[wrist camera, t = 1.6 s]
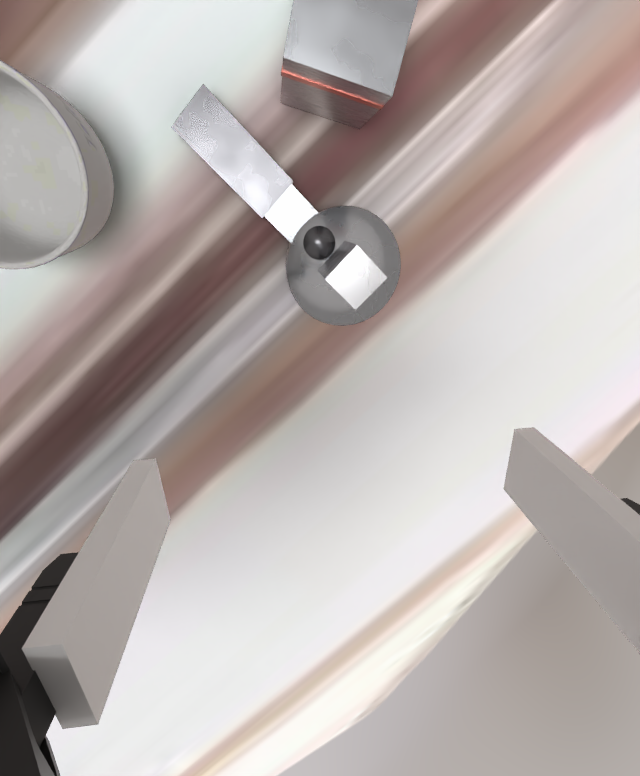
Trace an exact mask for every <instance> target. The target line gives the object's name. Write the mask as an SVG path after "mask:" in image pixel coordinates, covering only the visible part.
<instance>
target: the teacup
mask: <svg viewBox="0 0 640 776" xmlns="http://www.w3.org/2000/svg"><path fill="white" fill-rule="evenodd" d="M113 197H114V182H113V174H112V170H111V166H110V163H109V159H108V157H107V154H106V152H105V149H104V147H103V145H102V143H101V141H100V140H99V138H98V136H97V135H96V133H95V132H94V130H93V129H92V128H91V126H90V125H89V124H88V122H87V121H86V120H85V119H84V118H83V116H82V115H81V114H80V113H79V112H78V111H77V110H76V109H75V108H74V107H73V106H71V105H70V104H69V103H68V102H67V101H66V100H64V99H63V98H62V97H61V96H59V95H58V94H56V93H55V92H53V91H52V90H50V89H49V88H47V87H46V86H44V85H42V84H41V83H39V82H37V81H35V80H33V79H32V78H30V77H28V76H26V75H24V74H22V73H20V72H18V71H17V70H16V69H14V68H13V67H11V66H9V65H8V64H6V63H4V62H3V61H1V60H0V268H2V269H26V268H32V267H37V266H40V265H43V264H46V263H48V262H50V261H52V260H54V259H56V258H57V257H59V256H62V255H64V254H67V253H69V252H72V251H74V250H76V249H78V248H80V247H82V246H83V245H85V244H87V243H88V242H89V241H91V240H92V239H93V238H94V237H95V236H96V235H97V234H98V233H99V232H100V231H101V229H102V228H103V227H104V225H105V223H106V221H107V219H108V217H109V214H110V212H111V208H112V204H113Z"/></svg>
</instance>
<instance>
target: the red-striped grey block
mask: <svg viewBox="0 0 640 776" xmlns="http://www.w3.org/2000/svg"><path fill="white" fill-rule="evenodd" d="M417 3H418V0H294V1H293V6H292V12H291V17H290V23H289V29H288V34H287V40H286V45H285V51H284V56H283V66H282V71H281V76H282V88H281V103H282V104H285V105H288V106H291V107H294V108H297V109H300V110H303V111H306V112H309V113H312V114H315V115H318V116H321V117H324V118H327V119H330V120H333V121H336V122H340V123H343V124H346V125H349V126H352V127H355V128H358V129H360V128H361V127H362V126H363V125H364V124H365V123H366V122H367V121H368V120H369V119H370V118H371V117H372V116H373V115H374V114H375V113H376V112H377V111H378V110H381V109H382V108H383V107H384V104H385V103H386V102H387V101H388V100H389V99H390V98H391V97H392V96H393V92H394V88H395V84H396V81H397V77H398V73H399V70H400V66H401V62H402V58H403V55H404V51H405V47H406V44H407V40H408V36H409V32H410V29H411V25H412V21H413V18H414V14H415V10H416V7H417Z"/></svg>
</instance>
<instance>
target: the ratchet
mask: <svg viewBox="0 0 640 776" xmlns="http://www.w3.org/2000/svg"><path fill="white" fill-rule="evenodd" d="M171 127H172V128H173V129H174V130H175V131H176V132H177V133H178V134H179V136H180V137H181V138H182V139H183V140H184V141H185V142H186V143H187V144H188V145H189V146H190V147H191V148H192V149H193V150H194V151H195V152H196V153H197V154H198V155H199V156H200V157H201V158H202V159H203V160H204V161H205V162H206V163H207V164H208V165H209V166H210V167H211V168H212V169H213V170H214V171H215V172H216V173H217V174H218V175H219V176H220V177H221V178H222V179H223V180H224V181H225V182H226V183H227V184H228V185H229V186H230V187H231V188H232V189H233V190H234V191H235V192H236V193H237V194H238V195H239V196H240V197H241V198H242V199H243V200H244V201H245V202H246V203H247V204H248V205H249V206H250V207H251V208H252V209H253V210H254V211H255V212H256V213H257V214H258V215H259V216H260V217H261V218H263V217H265V218H266V219H267V220H268V221H269V222H270V223H271V224H272V225H273V226H274V227H275V228H276V229H277V230H278V231H279V232H280V233H281V234H282V235H283V236H284V237H285V238H286V239H287V240H288V241H289V242H290V244H289V247H288V251H287V256H286V273H287V278H288V282H289V286H290V289H291V292H292V294H293V296H294V298H295V300H296V301H297V302H298V304H299V305H300V306H301V307H302V309H303V310H304V311H305V312H307V313H308V314H309V315H310V316H312V317H313V318H315V319H317V320H319V321H321V322H324V323H327V324H331V325H341V326H344V325H352V324H356V323H359V322H362V321H365V320H367V319H369V318H370V317H372V316H373V315H375V314H376V313H377V312H379V311H380V310H381V309H382V308H383V307H384V306H385V305H386V303H387V302H388V301H389V299H390V298H391V296H392V294H393V293H394V291H395V288H396V286H397V283H398V279H399V275H400V252H399V248H398V245H397V242H396V240H395V237H394V235H393V234H392V232H391V230H390V229H389V228H388V226H387V225H386V224H385V223H384V222H383V221H382V220H381V219H380V218H378V217H377V216H376V215H374V214H373V213H371V212H369V211H367V210H364V209H361V208H357V207H351V206H340V207H332V208H328V209H324V210H322V211H319V212H317V211H316V210H315V209H314V208H313V206H312V205H311V204H310V203H309V202H308V201H307V200H306V199H305V198H304V197H303V196H302V195H301V194H300V192H299V191H298V190H297V189H296V188H295V187H294V186H293V185H292V183H293V180H292V179H291V178H290V177H289V176H288V175H287V174H286V173H285V172H284V171H283V170H282V168H281V167H280V166H279V165H278V164H277V163H276V162H275V161H274V160H273V159H272V158H271V157H270V155H269V154H268V153H267V152H266V151H265V150H264V149H263V148H262V147H261V146H260V145H259V144H258V143H257V141H256V140H255V139H254V138H253V137H252V136H251V135H250V134H249V133H248V132H247V131H246V130H245V128H244V127H243V126H242V125H241V124H240V123H239V122H238V121H237V120H236V119H235V118H234V117H233V115H232V114H231V113H230V112H229V111H228V110H227V109H226V108H225V107H224V106H223V105H222V104H221V102H220V101H219V100H218V99H217V98H216V97H215V96H214V95H213V94H212V93H211V92H210V91H209V90H208V88H207V87H206V86H205V85H204V84H203V85H202V86H201V87H200V89H199V90H198V91H197V93H196V94H195V95H194V97H193V98H192V99H191V101H190V102H189V104H188V105H187V106H186V108H185V109H184V110H183V112H182V113H181V114H180V116H179V117H178V118H177V120H176V121H175V122H174V124H173V125H172V126H171Z"/></svg>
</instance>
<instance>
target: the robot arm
mask: <svg viewBox="0 0 640 776" xmlns="http://www.w3.org/2000/svg"><path fill="white" fill-rule="evenodd" d="M504 490H505V491H506V493H507V494H508V495H509V496H510V497H511V499H512V500H513V501H514V502H515V503H516V505H517V506H518V507H519V508H520V509H521V511H522V512H523V513H524V514H525V516H526V517H527V518H528V519H529V520H530V522H531V523H532V524H533V525H534V526H535V528H536V529H537V530H538V531H539V532H540V534H541V535H542V536H543V537H544V539H545V540H546V541H547V542H548V543H549V545H550V546H551V547H552V548H553V549H554V551H555V552H556V553H557V554H558V556H559V557H560V558H561V559H562V560H563V562H564V563H565V564H566V565H567V566H568V568H569V569H570V570H571V571H572V573H573V574H574V575H575V576H576V577H577V579H578V580H579V581H580V582H581V583H582V585H583V586H584V587H585V588H586V589H587V591H588V592H589V593H590V594H591V596H592V597H593V598H594V599H595V600H596V602H597V603H598V604H599V605H600V606H601V608H602V609H603V610H604V611H605V613H606V614H607V615H608V616H609V617H610V619H611V620H612V621H613V622H614V623H615V625H616V626H617V627H618V628H619V629H620V631H621V632H622V633H623V634H624V636H625V637H626V638H627V639H628V640H629V642H630V643H631V644H632V645H633V646H634V648H635V649H636V650H637V651H638V653H639V654H640V505H639V504H637V503H635V502H633V501H631V500H629V499H627V498H623V499H620V498H619V497H617V496H616V495H615V494H614V493H612V492H611V491H610V490H609V489H608V488H606V487H605V486H604V485H602V483H600V482H599V481H598V480H597V479H596V478H594V477H593V476H592V475H591V474H590V473H588V472H587V471H586V470H585V469H583V468H582V467H581V466H580V465H579V464H577V463H576V462H575V461H574V460H573V459H571V458H570V457H569V456H568V455H567V454H565V453H564V452H563V451H562V450H561V449H559V448H558V447H557V446H556V445H554V444H553V443H552V442H551V441H550V440H548V439H547V438H546V437H545V436H544V435H542V434H541V433H540V432H539V431H538V430H536V429H535V428H522V429H514V435H513V440H512V446H511V451H510V457H509V462H508V468H507V473H506V479H505V484H504ZM170 520H171V519H170V515H169V511H168V507H167V503H166V498H165V494H164V490H163V486H162V482H161V477H160V473H159V469H158V465H157V460H156V459H143V460H133V462H132V464H131V466H130V467H129V469H128V471H127V472H126V474H125V476H124V477H123V479H122V481H121V482H120V484H119V486H118V487H117V489H116V491H115V492H114V494H113V496H112V497H111V499H110V501H109V503H108V504H107V506H106V508H105V509H104V511H103V513H102V514H101V516H100V518H99V519H98V521H97V523H96V524H95V526H94V528H93V529H92V531H91V533H90V534H89V536H88V538H87V540H86V541H85V543H84V545H83V546H82V548H81V550H80V551H79V553H68V554H61V555H60V556H58V557H57V558H56V559H55V560H54V561H53V562H52V563H51V564H50V565H48V566H47V567H46V568H45V569H44V570H43V571H42V573H41V574H40V576H39V577H38V579H37V580H36V582H35V583H34V585H33V586H32V590H31V591H29V592H28V594H27V595H26V597H25V598H24V600H23V601H22V605H21V606H19V607H18V609H17V610H16V612H15V613H14V615H13V616H12V618H11V619H10V621H9V622H8V624H7V625H6V627H5V628H4V630H3V631H2V633H1V634H0V776H60V773H59V770H58V767H57V764H56V761H55V758H54V755H53V752H52V749H51V746H50V743H49V740H48V738H47V737H46V733H47V731H48V729H49V727H50V724H51V722H52V720H53V718H54V715H56V717H57V719H58V721H59V723H60V725H61V727H62V728H63V729H66V728H74V727H81V726H89V725H97V724H98V723H99V720H100V717H101V714H102V712H103V709H104V706H105V703H106V700H107V697H108V695H109V692H110V689H111V686H112V683H113V681H114V678H115V675H116V672H117V669H118V667H119V664H120V661H121V658H122V655H123V652H124V650H125V647H126V644H127V641H128V638H129V636H130V633H131V630H132V627H133V624H134V622H135V619H136V616H137V613H138V610H139V608H140V605H141V602H142V599H143V596H144V593H145V591H146V588H147V585H148V582H149V579H150V577H151V574H152V571H153V568H154V565H155V563H156V560H157V557H158V554H159V551H160V548H161V546H162V543H163V540H164V537H165V534H166V532H167V529H168V526H169V523H170Z"/></svg>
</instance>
